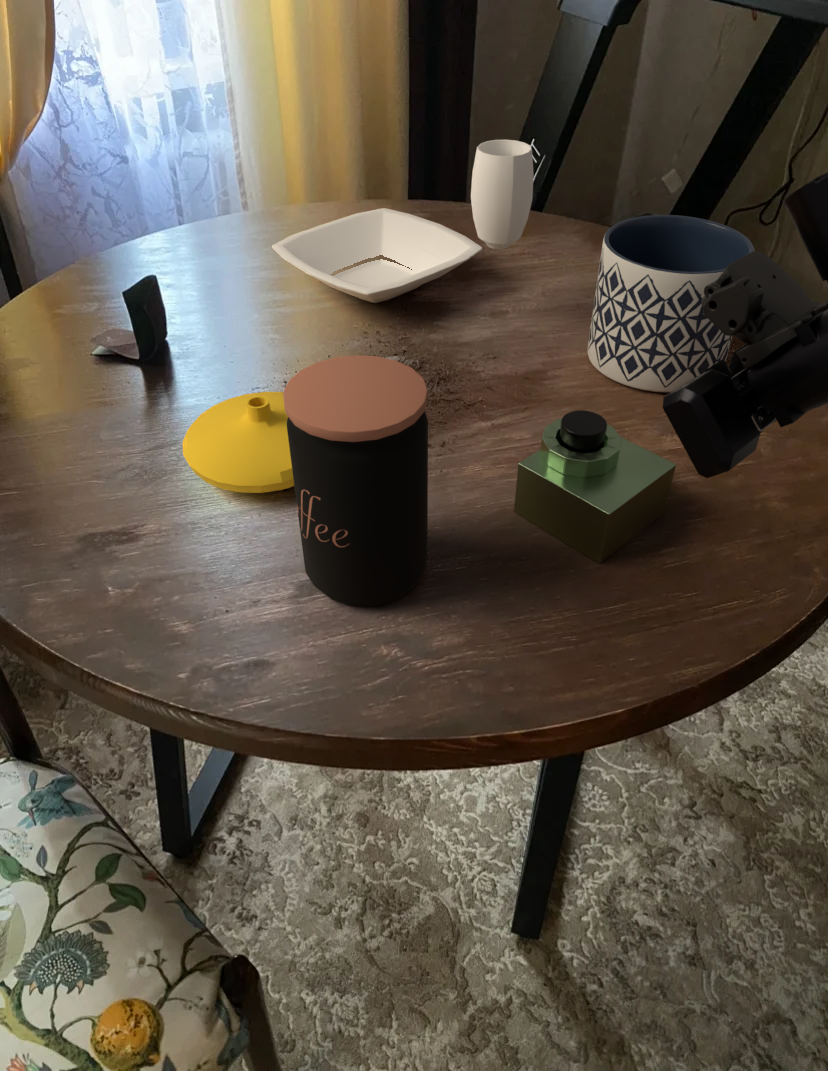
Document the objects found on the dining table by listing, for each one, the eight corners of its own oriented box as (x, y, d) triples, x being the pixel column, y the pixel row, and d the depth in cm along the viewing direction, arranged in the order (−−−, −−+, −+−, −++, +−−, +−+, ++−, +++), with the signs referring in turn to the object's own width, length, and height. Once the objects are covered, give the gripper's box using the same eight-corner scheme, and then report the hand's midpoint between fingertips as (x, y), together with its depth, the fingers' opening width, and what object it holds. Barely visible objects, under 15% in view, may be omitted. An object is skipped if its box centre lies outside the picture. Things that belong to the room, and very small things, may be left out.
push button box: (664, 513, 79) (680, 447, 74) (599, 564, 73) (612, 497, 69) (575, 465, 84) (585, 401, 79) (509, 509, 79) (515, 444, 74)
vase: (155, 485, 82) (139, 425, 78) (243, 405, 93) (233, 348, 88) (294, 528, 77) (286, 466, 73) (370, 438, 88) (367, 379, 83)
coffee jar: (292, 543, 76) (268, 368, 64) (404, 518, 78) (401, 344, 66) (322, 626, 68) (301, 444, 56) (445, 594, 71) (449, 414, 59)
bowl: (261, 286, 116) (256, 245, 112) (388, 240, 128) (386, 202, 124) (365, 343, 103) (363, 300, 100) (495, 287, 115) (497, 246, 111)
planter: (622, 405, 93) (645, 281, 83) (565, 338, 104) (579, 223, 94) (750, 384, 96) (786, 262, 86) (680, 321, 107) (706, 208, 98)
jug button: (613, 441, 75) (616, 422, 74) (585, 460, 73) (588, 440, 72) (577, 423, 77) (580, 404, 76) (549, 441, 75) (552, 422, 74)
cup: (511, 301, 112) (523, 135, 98) (530, 326, 106) (545, 154, 93) (459, 307, 110) (464, 140, 97) (475, 333, 105) (483, 160, 91)
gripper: (868, 192, 57) (693, 294, 71) (722, 274, 48) (552, 374, 61) (941, 336, 58) (755, 410, 71) (812, 445, 49) (625, 507, 62)
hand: (677, 421), depth 66 cm, fingers closed
